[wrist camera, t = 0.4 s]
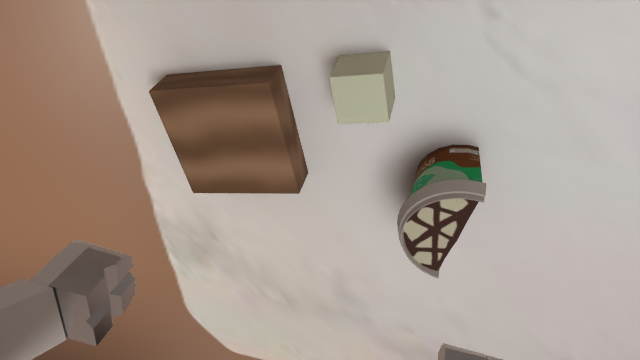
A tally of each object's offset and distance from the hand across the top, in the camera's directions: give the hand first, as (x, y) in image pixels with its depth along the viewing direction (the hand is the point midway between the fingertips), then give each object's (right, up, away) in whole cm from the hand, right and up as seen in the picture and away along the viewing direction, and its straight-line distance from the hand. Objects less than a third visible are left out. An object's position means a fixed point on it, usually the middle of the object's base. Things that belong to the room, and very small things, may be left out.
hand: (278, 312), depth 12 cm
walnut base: (-8, +10, +44) cm, 46 cm away
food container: (+14, +4, +42) cm, 44 cm away
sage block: (+6, +14, +37) cm, 40 cm away
